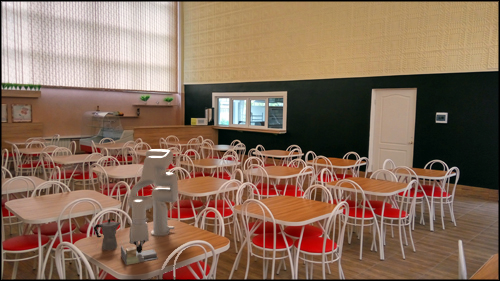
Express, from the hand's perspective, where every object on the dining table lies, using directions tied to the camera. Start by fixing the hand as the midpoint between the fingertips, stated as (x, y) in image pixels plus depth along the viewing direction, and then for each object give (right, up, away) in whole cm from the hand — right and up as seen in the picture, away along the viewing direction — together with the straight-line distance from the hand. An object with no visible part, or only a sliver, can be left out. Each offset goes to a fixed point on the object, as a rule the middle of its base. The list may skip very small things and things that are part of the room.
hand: (139, 252), depth 213 cm
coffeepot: (-23, -2, +14) cm, 27 cm away
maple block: (-4, -1, -2) cm, 5 cm away
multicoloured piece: (0, -3, 0) cm, 3 cm away
